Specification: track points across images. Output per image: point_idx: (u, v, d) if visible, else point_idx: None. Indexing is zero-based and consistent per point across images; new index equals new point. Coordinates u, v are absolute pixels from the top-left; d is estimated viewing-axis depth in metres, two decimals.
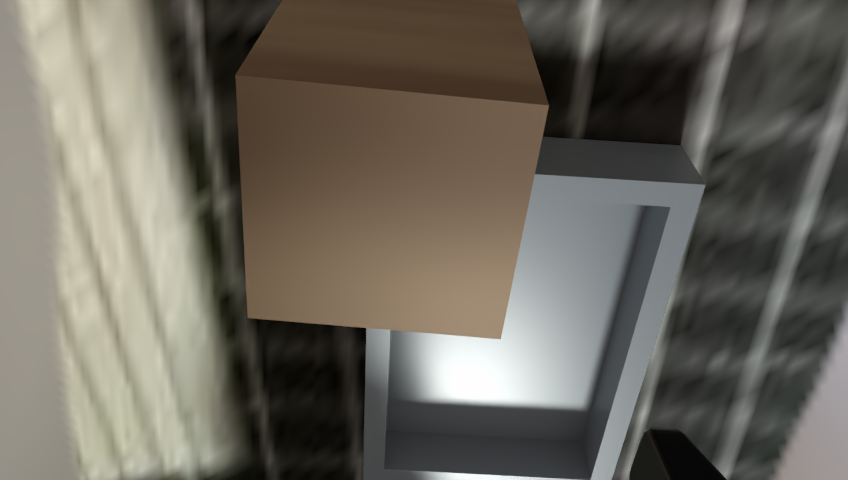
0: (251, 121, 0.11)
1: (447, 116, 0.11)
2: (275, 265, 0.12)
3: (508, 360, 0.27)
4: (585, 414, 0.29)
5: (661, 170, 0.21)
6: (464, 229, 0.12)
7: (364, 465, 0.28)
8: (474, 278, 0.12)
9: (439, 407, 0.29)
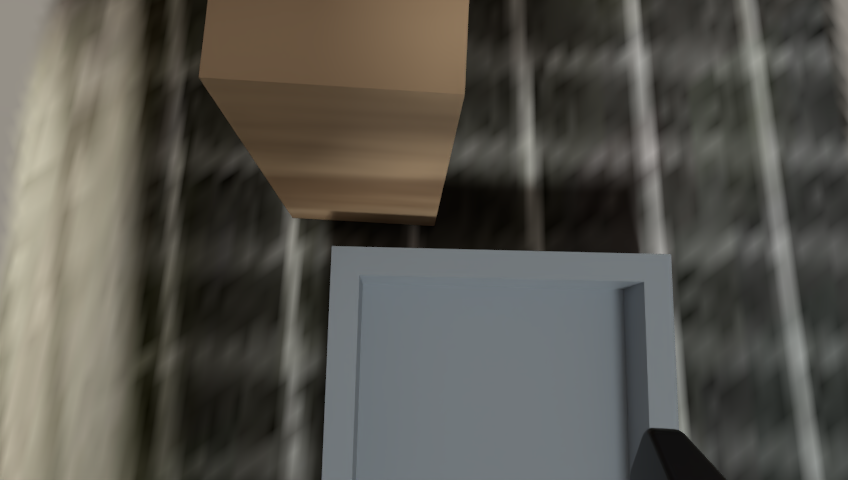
0: None
1: None
2: (236, 12, 0.12)
3: None
4: None
5: None
6: None
7: None
8: (430, 22, 0.13)
9: None
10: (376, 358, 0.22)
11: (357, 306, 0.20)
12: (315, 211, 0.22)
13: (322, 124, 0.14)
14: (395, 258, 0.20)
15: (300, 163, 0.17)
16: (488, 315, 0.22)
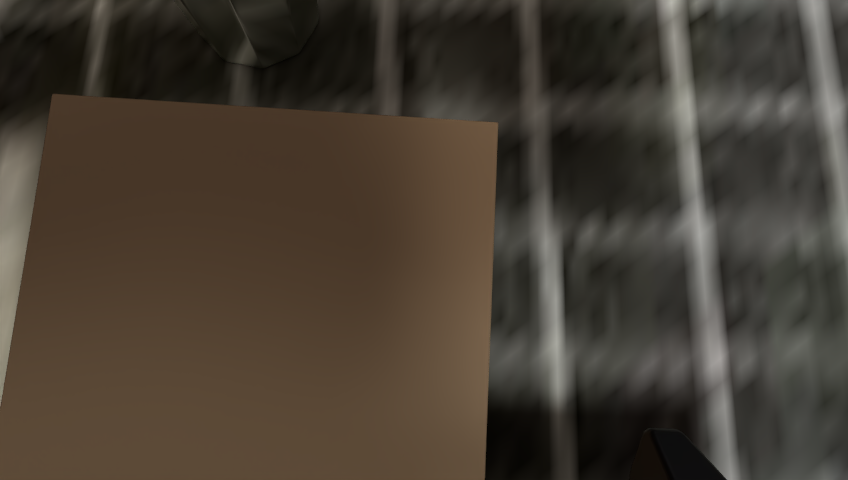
0: (61, 160, 0.07)
1: (354, 143, 0.07)
2: (53, 435, 0.07)
3: None
4: None
5: None
6: (391, 338, 0.07)
7: None
8: (416, 446, 0.07)
9: None
10: None
11: None
12: None
13: None
14: None
15: None
16: None
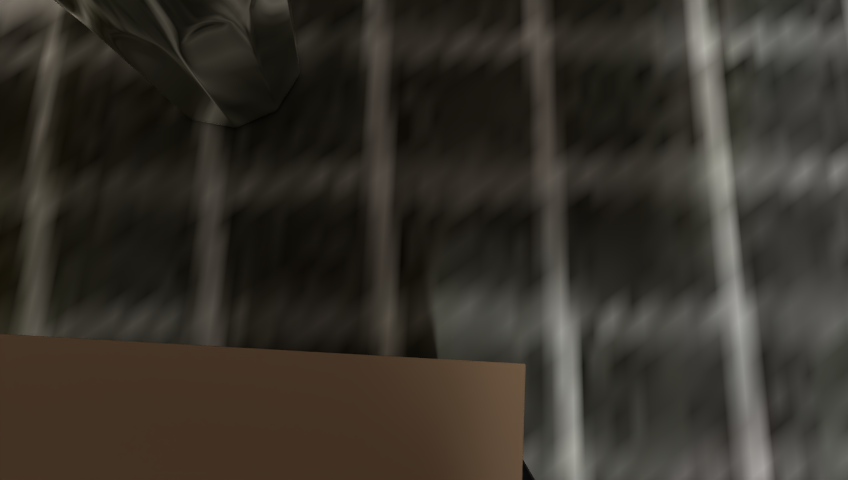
0: None
1: (307, 401, 0.05)
2: None
3: None
4: None
5: None
6: None
7: None
8: None
9: None
10: None
11: None
12: None
13: None
14: None
15: None
16: None
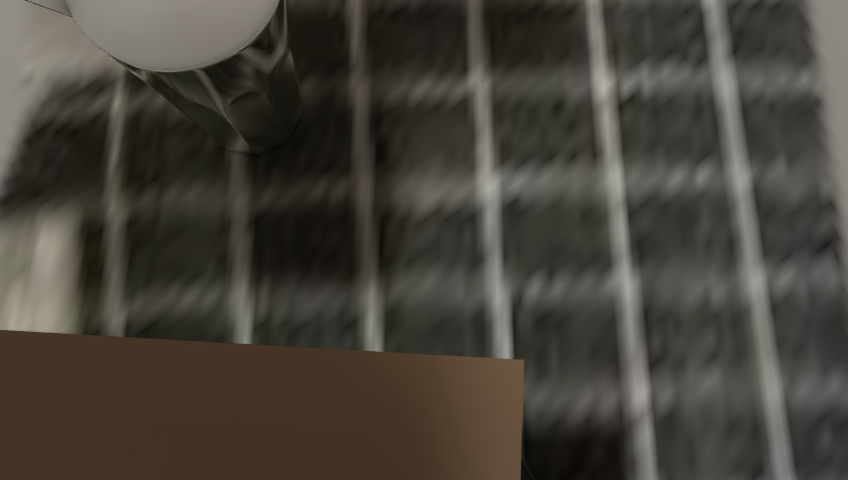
0: None
1: (307, 396, 0.05)
2: None
3: None
4: None
5: None
6: None
7: None
8: None
9: None
10: None
11: None
12: None
13: None
14: None
15: None
16: None
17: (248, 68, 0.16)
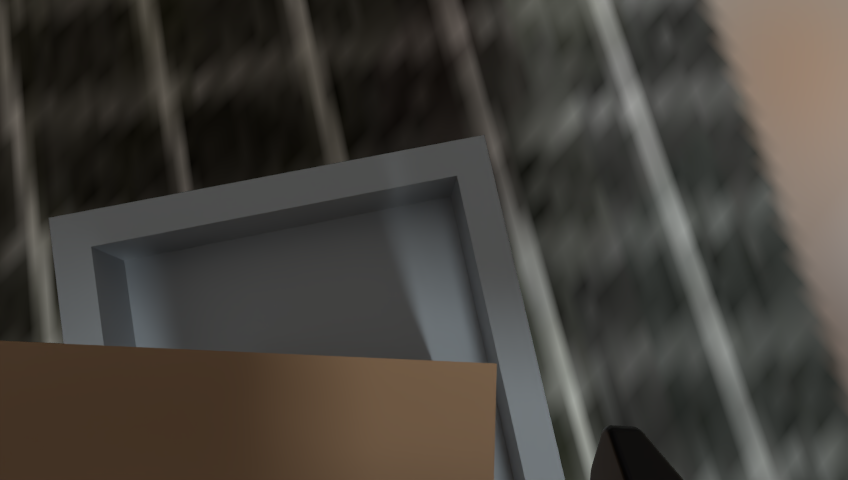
0: None
1: (328, 395, 0.06)
2: None
3: None
4: None
5: None
6: None
7: None
8: None
9: None
10: None
11: (95, 287, 0.15)
12: None
13: None
14: (134, 215, 0.16)
15: None
16: (289, 264, 0.17)
17: None
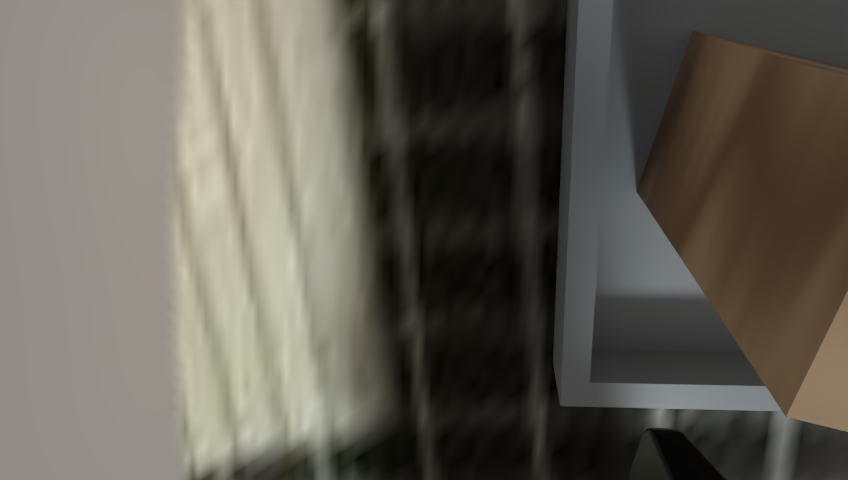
0: None
1: None
2: None
3: None
4: None
5: None
6: None
7: (563, 377, 0.21)
8: None
9: (652, 306, 0.22)
10: (620, 2, 0.19)
11: None
12: None
13: None
14: None
15: None
16: None
17: None
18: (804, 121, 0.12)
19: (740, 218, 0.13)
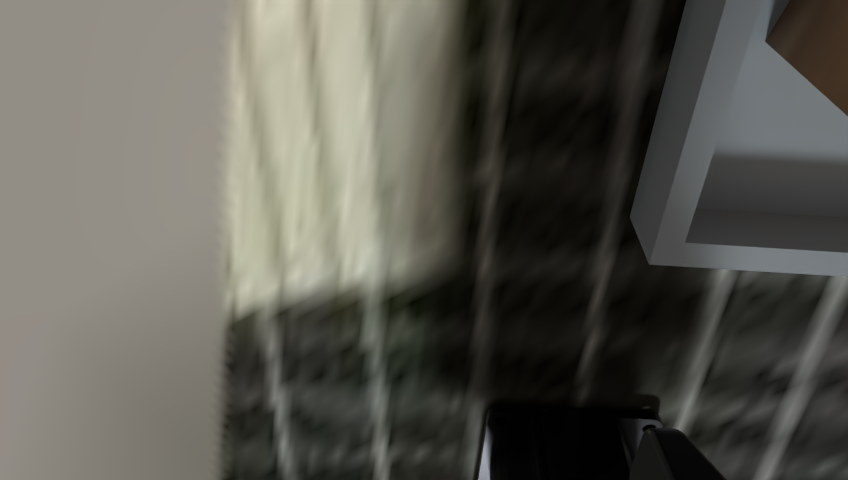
0: None
1: None
2: None
3: None
4: None
5: None
6: None
7: (659, 236, 0.20)
8: None
9: (750, 165, 0.21)
10: None
11: None
12: None
13: None
14: None
15: None
16: None
17: None
18: None
19: None
